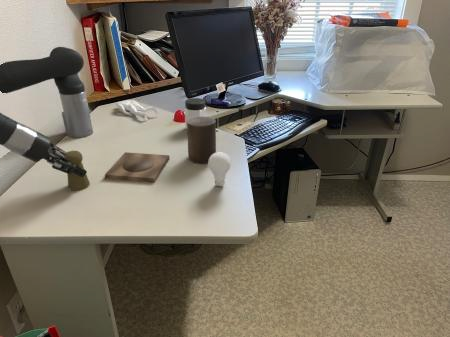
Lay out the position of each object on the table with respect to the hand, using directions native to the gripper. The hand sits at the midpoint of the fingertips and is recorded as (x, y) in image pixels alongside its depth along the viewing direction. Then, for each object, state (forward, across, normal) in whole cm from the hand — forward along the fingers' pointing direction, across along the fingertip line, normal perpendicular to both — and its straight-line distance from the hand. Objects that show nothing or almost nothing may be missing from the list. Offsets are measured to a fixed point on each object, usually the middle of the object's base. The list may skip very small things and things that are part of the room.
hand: (82, 170), depth 102 cm
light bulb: (+28, +22, +21) cm, 41 cm away
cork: (+2, 0, -5) cm, 5 cm away
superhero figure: (+27, -55, +20) cm, 64 cm away
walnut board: (+15, -1, +9) cm, 18 cm away
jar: (+38, -22, +32) cm, 54 cm away
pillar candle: (+31, +3, +24) cm, 39 cm away
